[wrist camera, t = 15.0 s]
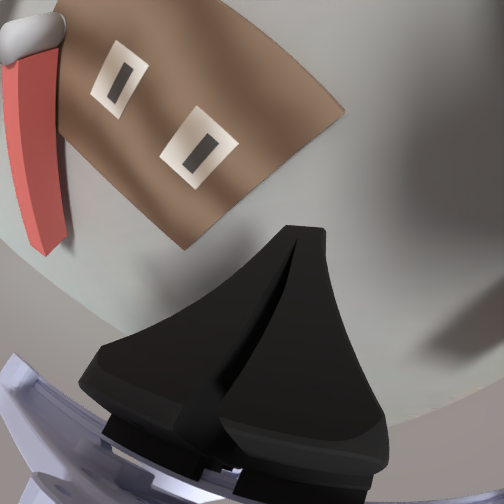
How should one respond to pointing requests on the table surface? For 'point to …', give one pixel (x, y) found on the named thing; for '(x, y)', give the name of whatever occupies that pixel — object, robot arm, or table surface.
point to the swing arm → (33, 123)
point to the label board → (181, 105)
